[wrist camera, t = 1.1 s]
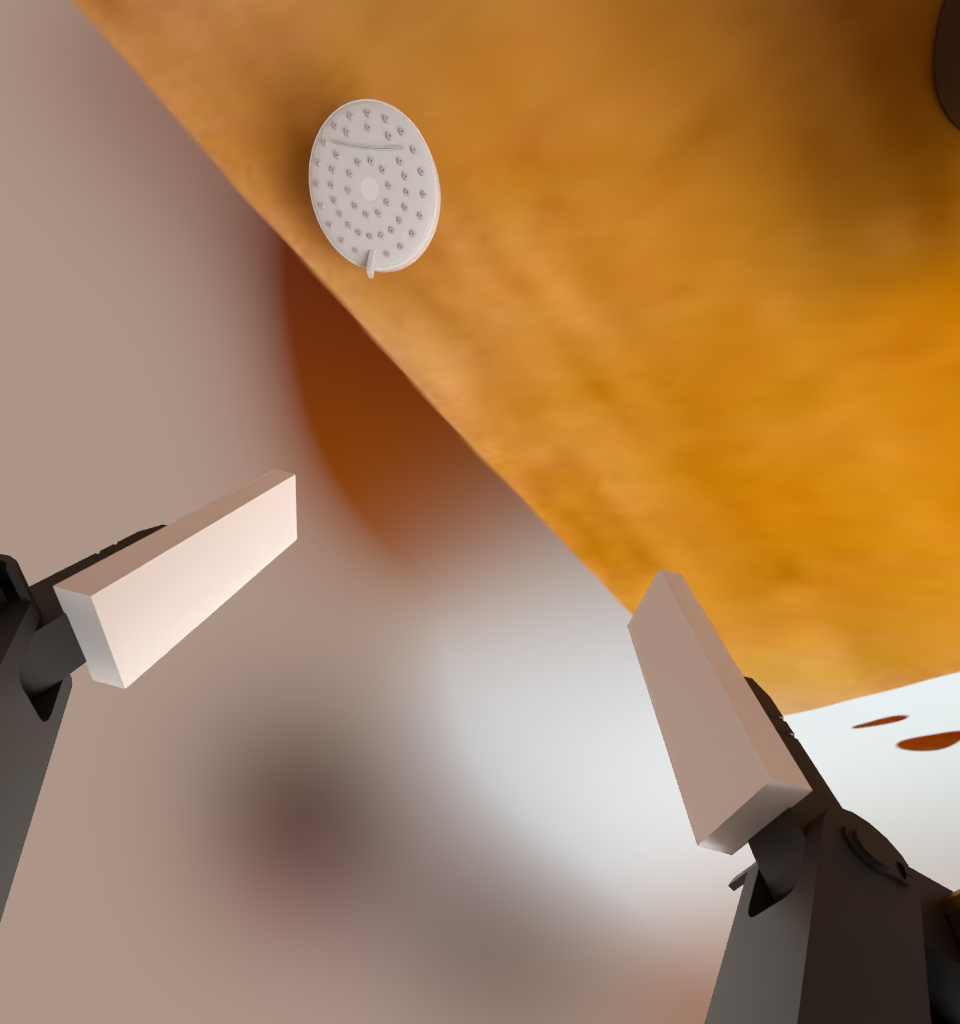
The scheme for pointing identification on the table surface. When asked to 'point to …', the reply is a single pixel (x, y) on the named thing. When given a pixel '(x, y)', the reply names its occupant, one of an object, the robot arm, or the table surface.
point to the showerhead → (374, 186)
